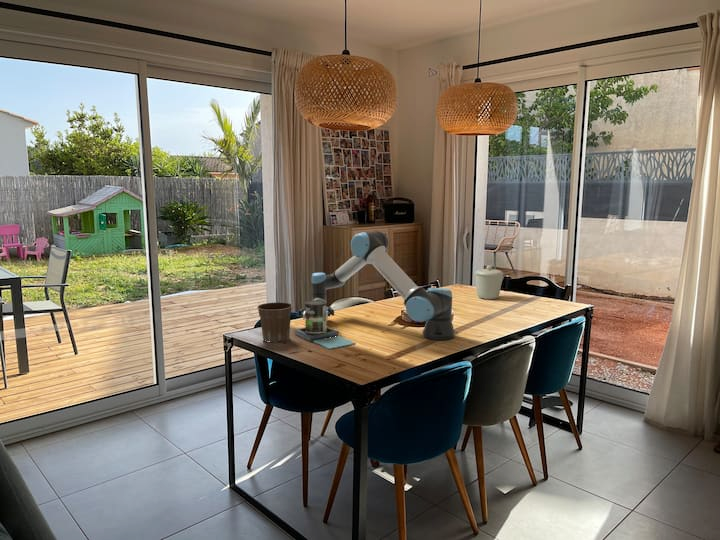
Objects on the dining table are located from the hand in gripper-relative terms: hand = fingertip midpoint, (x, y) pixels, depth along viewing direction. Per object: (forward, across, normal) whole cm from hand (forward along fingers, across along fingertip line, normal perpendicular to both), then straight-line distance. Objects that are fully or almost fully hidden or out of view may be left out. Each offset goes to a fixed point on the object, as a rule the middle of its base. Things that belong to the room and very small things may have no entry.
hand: (315, 316), depth 254 cm
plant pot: (+2, +18, -10) cm, 21 cm away
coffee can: (-4, 0, -8) cm, 9 cm away
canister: (-89, -104, -11) cm, 138 cm away
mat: (+9, -9, -10) cm, 16 cm away
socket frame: (-4, 0, -10) cm, 11 cm away
